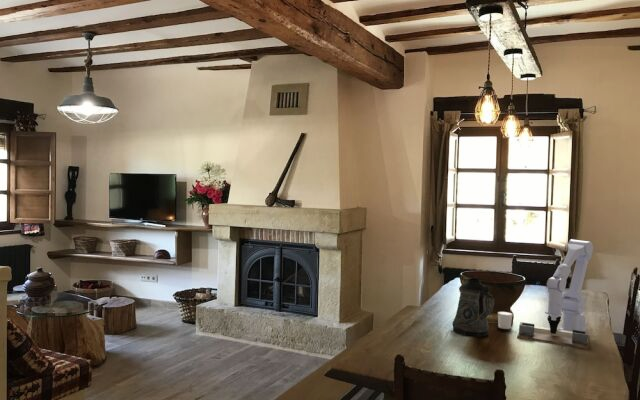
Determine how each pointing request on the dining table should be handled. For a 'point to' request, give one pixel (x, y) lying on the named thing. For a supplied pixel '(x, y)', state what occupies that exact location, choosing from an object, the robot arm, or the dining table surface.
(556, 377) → the dining table surface
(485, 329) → the beer stein
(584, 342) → the end caps
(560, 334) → the slat
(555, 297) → the robot arm
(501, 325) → the white cylinder
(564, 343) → the frame board
